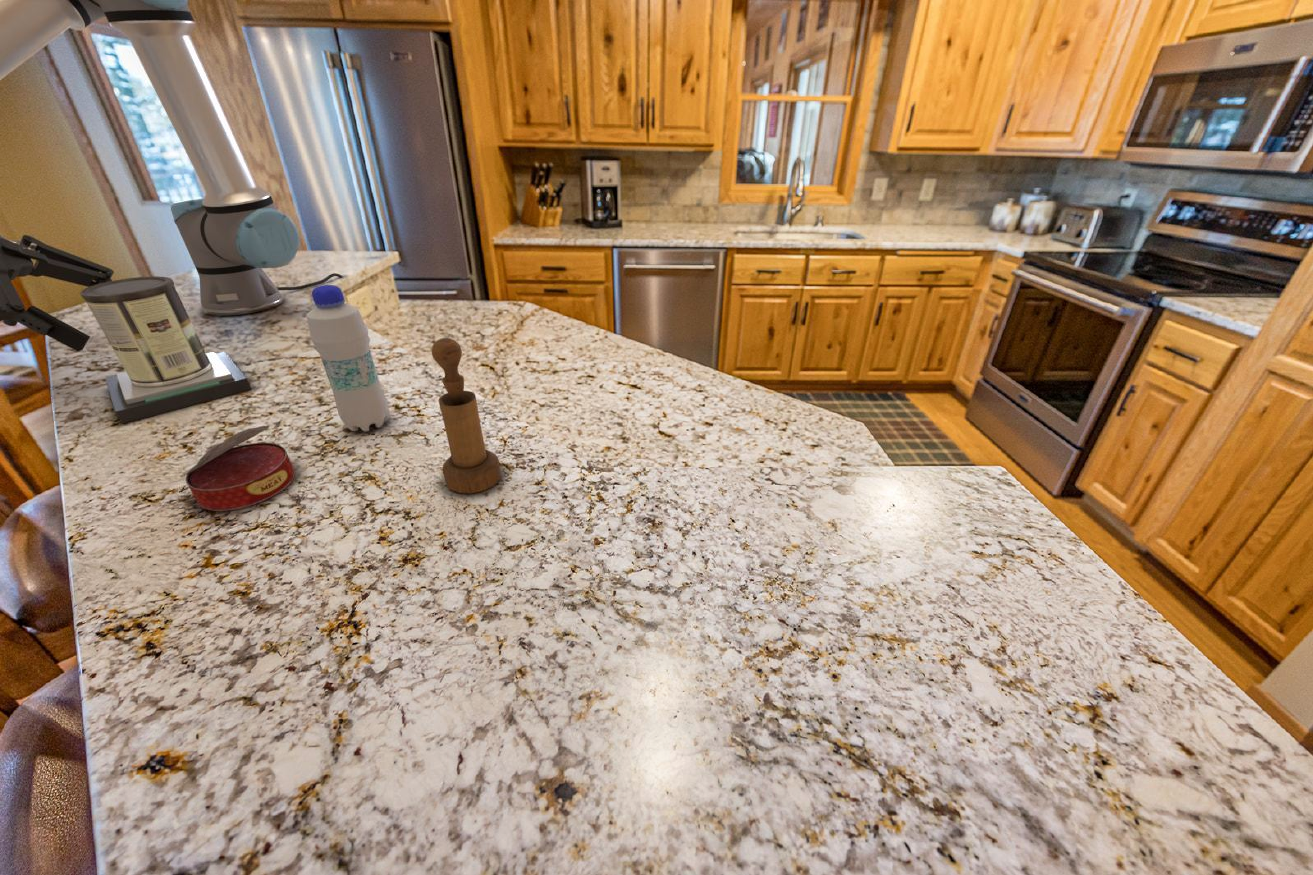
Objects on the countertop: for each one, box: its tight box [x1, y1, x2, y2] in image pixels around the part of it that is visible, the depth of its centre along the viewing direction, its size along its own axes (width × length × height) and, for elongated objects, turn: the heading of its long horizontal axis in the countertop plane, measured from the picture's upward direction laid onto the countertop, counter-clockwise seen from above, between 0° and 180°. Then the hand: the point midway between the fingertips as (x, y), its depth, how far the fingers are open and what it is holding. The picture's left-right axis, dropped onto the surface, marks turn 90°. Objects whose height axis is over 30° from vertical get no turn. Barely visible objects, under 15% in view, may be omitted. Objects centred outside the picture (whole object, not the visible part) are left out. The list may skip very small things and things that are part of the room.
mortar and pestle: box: [431, 337, 502, 494], centre depth 61 cm, size 7×6×18 cm
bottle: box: [306, 284, 390, 432], centre depth 71 cm, size 7×7×20 cm
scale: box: [104, 351, 252, 425], centre depth 85 cm, size 16×16×3 cm
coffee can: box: [79, 275, 212, 387], centre depth 81 cm, size 10×10×14 cm
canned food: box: [179, 425, 296, 512], centre depth 62 cm, size 11×10×10 cm
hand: (119, 328), depth 80 cm, fingers open, 13 cm apart
